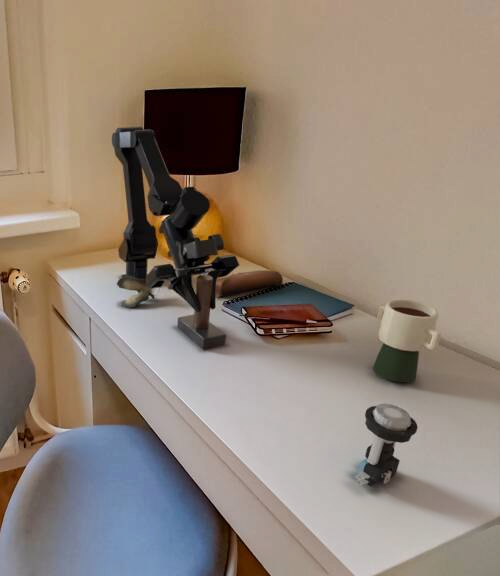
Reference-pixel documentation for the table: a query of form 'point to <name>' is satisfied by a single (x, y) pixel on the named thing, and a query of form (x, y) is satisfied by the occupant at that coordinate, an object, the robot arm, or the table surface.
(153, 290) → the eagle figurine
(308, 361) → the table surface
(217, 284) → the sunglasses case
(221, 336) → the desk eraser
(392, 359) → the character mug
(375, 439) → the push button
